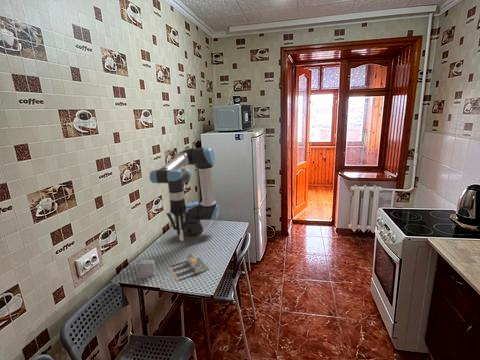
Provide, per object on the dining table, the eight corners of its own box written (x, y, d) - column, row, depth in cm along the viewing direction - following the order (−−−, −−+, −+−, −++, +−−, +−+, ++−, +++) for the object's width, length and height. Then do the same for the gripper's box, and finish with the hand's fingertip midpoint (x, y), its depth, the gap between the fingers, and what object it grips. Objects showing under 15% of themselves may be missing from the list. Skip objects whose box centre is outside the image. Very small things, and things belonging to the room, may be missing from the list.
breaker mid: (190, 266, 149) (190, 259, 148) (195, 264, 150) (195, 258, 149) (192, 269, 146) (192, 262, 145) (197, 267, 148) (197, 260, 147)
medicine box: (156, 273, 146) (155, 259, 144) (154, 278, 142) (152, 263, 140) (142, 274, 146) (140, 260, 144) (140, 278, 141) (137, 264, 139)
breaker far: (187, 261, 154) (186, 255, 153) (192, 260, 155) (191, 253, 154) (189, 264, 151) (188, 257, 150) (194, 262, 153) (193, 255, 152)
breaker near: (194, 271, 144) (194, 264, 143) (199, 269, 145) (199, 262, 144) (196, 274, 141) (196, 266, 140) (201, 272, 143) (201, 265, 142)
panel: (168, 269, 149) (167, 266, 149) (203, 258, 160) (203, 255, 160) (176, 283, 136) (176, 280, 135) (214, 270, 146) (214, 267, 146)
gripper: (166, 203, 130) (171, 246, 135) (191, 198, 136) (195, 239, 142) (162, 199, 136) (167, 240, 142) (186, 194, 142) (190, 234, 148)
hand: (181, 239), depth 142 cm, fingers closed
